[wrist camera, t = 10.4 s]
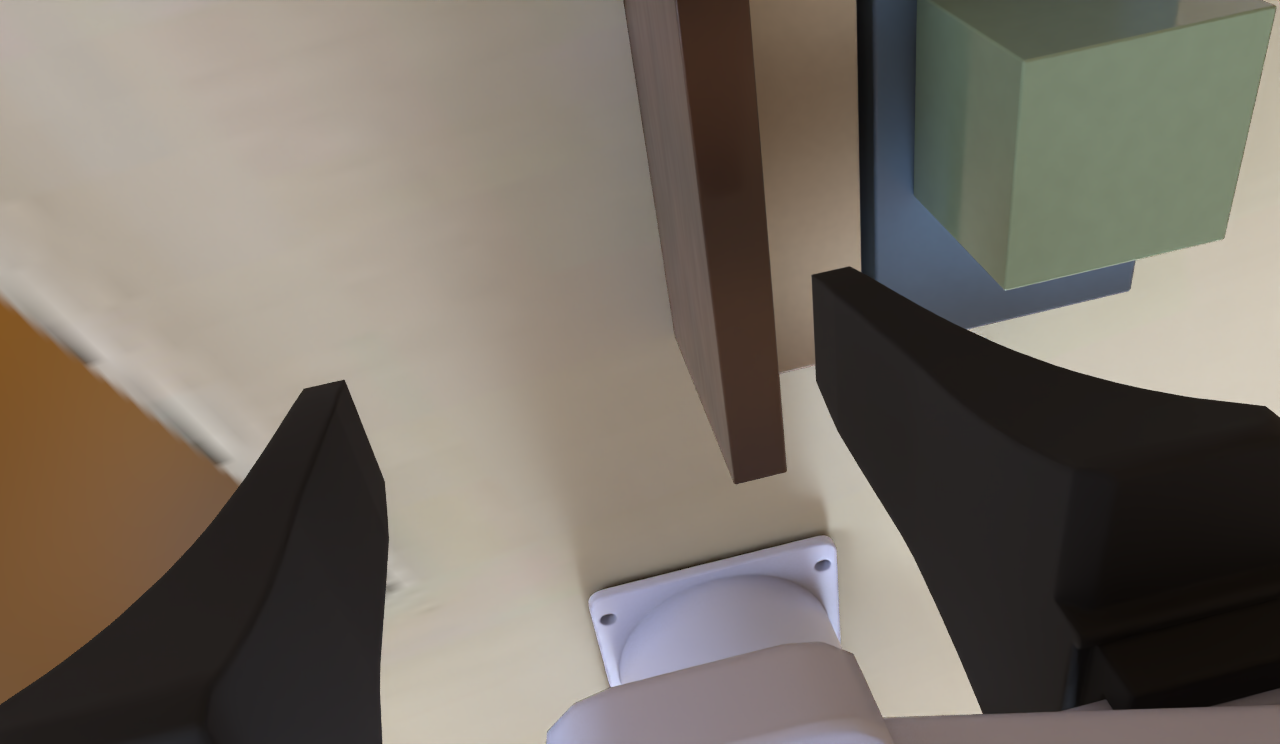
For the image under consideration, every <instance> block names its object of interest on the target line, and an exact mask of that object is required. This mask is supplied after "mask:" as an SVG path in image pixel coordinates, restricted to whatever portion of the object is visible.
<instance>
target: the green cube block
mask: <svg viewBox="0 0 1280 744" xmlns="http://www.w3.org/2000/svg"><path fill="white" fill-rule="evenodd" d="M1275 12H1276V6H1275V5H1273V4H1271V3H1268V2H1265V1H1263V0H917V25H916V84H915V143H914V197H915V198H916V199H917V200H918V201H919V202H920V203H921V204H922V205H923V206H924V207H925V208H926V209H927V210H928V211H929V212H930V213H931V214H932V215H933V216H934V217H935V219H936V220H937V221H938V222H939V223H940V224H941V225H942V226H943V227H944V228H945V229H946V230H947V231H948V232H949V233H950V234H951V235H952V236H953V237H954V238H955V239H956V240H957V241H958V243H959V244H960V245H961V246H962V247H963V248H964V249H965V250H966V251H967V252H968V253H969V254H970V255H971V256H972V257H973V258H974V259H975V260H976V261H977V262H978V263H979V264H980V266H981V267H982V268H983V269H984V270H985V271H986V272H987V273H988V274H989V275H990V276H991V277H992V278H993V279H994V280H995V281H996V282H997V283H998V284H999V285H1000V286H1001V287H1002V288H1003V290H1011V289H1015V288H1019V287H1023V286H1028V285H1032V284H1036V283H1040V282H1045V281H1049V280H1053V279H1058V278H1062V277H1066V276H1070V275H1075V274H1079V273H1083V272H1087V271H1092V270H1096V269H1100V268H1104V267H1109V266H1113V265H1117V264H1121V263H1126V262H1130V261H1134V260H1138V259H1143V258H1147V257H1151V256H1155V255H1160V254H1164V253H1168V252H1172V251H1177V250H1181V249H1185V248H1189V247H1194V246H1198V245H1202V244H1206V243H1211V242H1215V241H1219V240H1223V239H1224V237H1225V233H1226V229H1227V224H1228V220H1229V215H1230V211H1231V207H1232V202H1233V198H1234V193H1235V189H1236V184H1237V180H1238V176H1239V171H1240V167H1241V162H1242V158H1243V154H1244V149H1245V145H1246V140H1247V136H1248V131H1249V127H1250V123H1251V118H1252V114H1253V109H1254V105H1255V101H1256V96H1257V92H1258V87H1259V83H1260V78H1261V74H1262V70H1263V65H1264V61H1265V56H1266V52H1267V48H1268V43H1269V39H1270V34H1271V30H1272V25H1273V21H1274V17H1275Z"/></svg>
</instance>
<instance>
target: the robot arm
mask: <svg viewBox="0 0 1280 744" xmlns="http://www.w3.org/2000/svg"><path fill="white" fill-rule="evenodd" d="M811 277H812V299H813V322H814V344H815V366H816V382H817V384H818V386H819V389H820V391H821V394H822V396H823V398H824V401H825V403H826V406H827V408H828V410H829V413H830V415H831V417H832V419H833V421H834V424H835V426H836V428H837V430H838V432H839V434H840V436H841V438H842V439H843V441H844V443H845V444H846V446H847V448H848V449H849V451H850V453H851V454H852V456H853V457H854V459H855V461H856V462H857V464H858V466H859V467H860V469H861V471H862V472H863V474H864V475H865V477H866V479H867V480H868V482H869V483H870V485H871V487H872V488H873V490H874V492H875V493H876V495H877V496H878V498H879V500H880V501H881V503H882V504H883V506H884V508H885V509H886V511H887V512H888V514H889V516H890V517H891V519H892V521H893V522H894V524H895V525H896V527H897V529H898V530H899V532H900V533H901V535H902V537H903V539H904V541H905V542H906V544H907V546H908V548H909V550H910V551H911V553H912V555H913V557H914V559H915V561H916V563H917V565H918V567H919V569H920V572H921V574H922V576H923V578H924V580H925V582H926V584H927V586H928V589H929V591H930V593H931V595H932V597H933V599H934V601H935V604H936V606H937V608H938V610H939V612H940V615H941V617H942V619H943V621H944V624H945V626H946V628H947V630H948V633H949V635H950V637H951V639H952V642H953V644H954V646H955V648H956V651H957V653H958V655H959V658H960V660H961V662H962V665H963V667H964V669H965V672H966V674H967V677H968V679H969V681H970V684H971V686H972V689H973V691H974V693H975V696H976V698H977V701H978V703H979V705H980V708H981V710H982V713H983V714H972V715H941V716H910V717H882V715H881V713H880V710H879V708H878V706H877V704H876V702H875V700H874V697H873V695H872V693H871V691H870V689H869V686H868V684H867V682H866V680H865V678H864V675H863V673H862V671H861V669H860V667H859V665H858V663H857V661H856V659H855V657H854V654H852V653H850V652H847V651H845V650H843V649H842V647H841V637H840V614H839V591H838V567H837V549H836V546H835V544H834V542H833V540H832V539H831V538H830V537H829V536H825V535H821V536H815V537H811V538H807V539H803V540H799V541H795V542H791V543H787V544H783V545H779V546H775V547H771V548H767V549H763V550H759V551H755V552H751V553H747V554H743V555H739V556H735V557H731V558H727V559H723V560H719V561H715V562H711V563H707V564H703V565H699V566H694V567H690V568H686V569H682V570H678V571H674V572H670V573H666V574H662V575H658V576H654V577H650V578H646V579H642V580H638V581H634V582H630V583H626V584H622V585H618V586H614V587H610V588H606V589H602V590H599V591H597V592H595V593H594V594H593V595H591V597H590V598H589V603H588V604H589V610H590V614H591V618H592V621H593V625H594V629H595V633H596V636H597V640H598V644H599V647H600V651H601V655H602V659H603V662H604V666H605V670H606V674H607V677H608V681H609V685H610V688H608V689H605V690H603V691H601V692H598V693H596V694H594V695H592V696H589V697H587V698H585V699H582V700H580V701H578V702H576V703H574V704H573V705H572V706H571V707H570V708H569V709H568V710H567V711H566V712H565V713H564V714H563V715H562V716H561V718H560V719H559V720H558V721H557V722H556V723H555V724H554V725H553V726H552V727H551V728H550V729H549V730H548V731H547V740H546V744H1280V417H1278V416H1277V415H1276V414H1275V413H1274V412H1272V411H1271V410H1270V409H1268V408H1267V407H1266V406H1259V405H1250V404H1242V403H1233V402H1225V401H1216V400H1207V399H1199V398H1191V397H1185V396H1179V395H1174V394H1168V393H1163V392H1158V391H1152V390H1147V389H1142V388H1137V387H1133V386H1128V385H1124V384H1119V383H1115V382H1111V381H1108V380H1104V379H1100V378H1096V377H1093V376H1089V375H1085V374H1082V373H1078V372H1074V371H1071V370H1068V369H1065V368H1061V367H1058V366H1055V365H1052V364H1049V363H1047V362H1044V361H1041V360H1038V359H1036V358H1033V357H1030V356H1027V355H1024V354H1022V353H1019V352H1016V351H1014V350H1011V349H1009V348H1006V347H1004V346H1001V345H999V344H997V343H995V342H992V341H990V340H988V339H986V338H984V337H981V336H979V335H977V334H975V333H973V332H970V331H968V330H966V329H964V328H962V327H960V326H958V325H956V324H954V323H952V322H950V321H948V320H946V319H944V318H942V317H940V316H938V315H936V314H935V313H933V312H931V311H929V310H927V309H925V308H923V307H922V306H920V305H918V304H916V303H914V302H913V301H911V300H909V299H907V298H906V297H904V296H902V295H900V294H899V293H897V292H895V291H893V290H892V289H890V288H888V287H886V286H885V285H883V284H881V283H879V282H878V281H876V280H874V279H872V278H871V277H869V276H867V275H865V274H864V273H862V272H860V271H858V270H856V269H854V268H852V267H850V266H848V267H844V268H839V269H835V270H831V271H826V272H822V273H817V274H813V275H811ZM388 544H389V533H388V517H387V504H386V492H385V481H384V478H383V476H382V473H381V471H380V468H379V466H378V463H377V461H376V458H375V456H374V453H373V451H372V448H371V445H370V443H369V440H368V438H367V435H366V433H365V430H364V428H363V425H362V423H361V420H360V418H359V415H358V412H357V410H356V407H355V405H354V402H353V400H352V397H351V395H350V392H349V390H348V387H347V385H346V382H345V380H341V381H337V382H332V383H328V384H323V385H319V386H314V387H310V388H305V389H303V391H302V392H301V394H300V395H299V397H298V398H297V400H296V401H295V403H294V404H293V406H292V407H291V409H290V411H289V412H288V414H287V415H286V417H285V418H284V420H283V421H282V423H281V425H280V426H279V428H278V429H277V431H276V433H275V434H274V436H273V437H272V439H271V440H270V442H269V443H268V445H267V447H266V448H265V450H264V451H263V453H262V454H261V456H260V457H259V459H258V460H257V461H256V463H255V464H254V466H253V467H252V469H251V470H250V472H249V473H248V475H247V476H246V478H245V479H244V481H243V482H242V483H241V485H240V486H239V487H238V489H237V490H236V491H235V493H234V494H233V495H232V497H231V498H230V499H229V501H228V502H227V503H226V504H225V506H224V507H223V508H222V510H221V511H220V512H219V514H218V515H217V517H216V518H215V519H214V520H213V521H212V523H211V524H210V525H209V526H208V527H207V529H206V530H205V531H204V532H203V533H202V535H201V536H200V537H199V538H198V539H197V540H196V542H195V543H194V544H193V545H192V546H191V547H190V548H189V549H188V550H187V551H186V552H185V553H184V555H183V556H182V557H181V558H180V559H179V560H178V561H177V562H176V563H175V564H174V565H173V566H172V567H171V568H170V569H169V571H167V573H165V575H164V576H163V577H162V578H161V579H159V580H158V581H157V582H156V583H155V584H154V585H153V586H152V587H151V588H150V589H149V590H147V591H146V592H145V593H144V594H143V595H142V596H141V597H140V598H139V599H138V600H137V601H136V602H135V603H133V604H132V605H131V606H130V607H129V608H128V609H127V610H126V611H125V612H124V613H123V614H122V615H120V617H118V618H117V619H116V620H115V621H114V622H112V623H111V624H110V625H109V626H108V627H106V628H105V629H104V630H103V631H101V632H100V633H99V634H98V635H96V636H95V637H94V638H93V639H92V640H90V641H89V642H88V643H87V644H85V645H84V646H83V647H81V648H80V649H79V650H77V651H76V652H75V653H74V654H72V655H71V656H70V657H68V658H67V659H66V660H64V661H63V662H62V663H61V664H59V665H58V666H56V667H55V668H53V669H52V670H51V671H49V672H48V673H47V674H45V675H44V676H42V677H41V678H39V679H38V680H36V681H35V682H33V683H32V684H31V685H29V686H28V687H26V688H25V689H23V690H21V691H20V692H19V693H17V694H15V695H14V696H12V697H11V698H10V699H8V700H7V701H5V702H4V703H2V704H1V705H0V744H382V727H381V705H380V661H381V647H382V633H383V619H384V605H385V591H386V577H387V561H388ZM820 560H823V561H821V562H818V561H820ZM610 613H612V614H610ZM605 614H609V615H605ZM603 615H604V616H603Z"/></svg>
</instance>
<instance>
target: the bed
mask: <svg viewBox="0 0 1280 744" xmlns="http://www.w3.org/2000/svg"><path fill="white" fill-rule="evenodd" d="M623 1H624V7H625V14H626V20H627V27H628V33H629V40H630V46H631V53H632V59H633V66H634V72H635V79H636V86H637V92H638V99H639V105H640V112H641V118H642V125H643V131H644V138H645V144H646V151H647V157H648V164H649V170H650V177H651V184H652V190H653V197H654V203H655V210H656V216H657V223H658V229H659V236H660V242H661V249H662V255H663V262H664V268H665V275H666V282H667V288H668V295H669V301H670V308H671V314H672V321H673V327H674V334H675V338H676V341H677V343H678V346H679V348H680V350H681V353H682V355H683V358H684V360H685V363H686V365H687V368H688V370H689V373H690V375H691V378H692V380H693V383H694V385H695V388H696V390H697V393H698V395H699V398H700V400H701V403H702V405H703V408H704V410H705V413H706V415H707V417H708V420H709V422H710V425H711V427H712V430H713V432H714V435H715V437H716V440H717V442H718V445H719V447H720V450H721V452H722V455H723V457H724V460H725V462H726V465H727V467H728V470H729V472H730V475H731V477H732V479H733V482H734V483H735V484H739V483H743V482H747V481H752V480H756V479H760V478H764V477H768V476H772V475H776V474H780V473H784V472H786V471H787V465H786V453H785V441H784V428H783V416H782V403H781V391H780V378H779V374H781V373H785V372H789V371H794V370H798V369H802V368H806V367H811V366H815V344H814V322H813V299H812V277H811V275H813V274H817V273H822V272H826V271H831V270H835V269H839V268H844V267H848V266H850V267H852V268H854V269H856V270H858V271H860V272H862V273H864V274H865V275H867V276H869V277H871V278H872V279H874V280H876V281H878V282H879V283H881V284H883V285H885V286H886V287H888V288H890V289H892V290H893V291H895V292H897V293H899V294H900V295H902V296H904V297H906V298H907V299H909V300H911V301H913V302H914V303H916V304H918V305H920V306H922V307H923V308H925V309H927V310H929V311H931V312H933V313H935V314H936V315H938V316H940V317H942V318H944V319H946V320H948V321H950V322H952V323H954V324H956V325H958V326H960V327H962V328H964V329H966V330H967V329H971V328H975V327H979V326H984V325H988V324H992V323H996V322H1000V321H1005V320H1009V319H1013V318H1017V317H1021V316H1026V315H1030V314H1034V313H1038V312H1043V311H1047V310H1051V309H1055V308H1059V307H1064V306H1068V305H1072V304H1076V303H1081V302H1085V301H1089V300H1093V299H1097V298H1102V297H1106V296H1110V295H1114V294H1118V293H1123V292H1127V291H1129V290H1130V289H1131V284H1132V278H1133V272H1134V266H1135V260H1134V261H1130V262H1126V263H1121V264H1117V265H1113V266H1109V267H1104V268H1100V269H1096V270H1092V271H1087V272H1083V273H1079V274H1075V275H1070V276H1066V277H1062V278H1058V279H1053V280H1049V281H1045V282H1040V283H1036V284H1032V285H1028V286H1023V287H1019V288H1015V289H1011V290H1003V288H1002V287H1001V286H1000V285H999V284H998V283H997V282H996V281H995V280H994V279H993V278H992V277H991V276H990V275H989V274H988V273H987V272H986V271H985V270H984V269H983V268H982V267H981V266H980V264H979V263H978V262H977V261H976V260H975V259H974V258H973V257H972V256H971V255H970V254H969V253H968V252H967V251H966V250H965V249H964V248H963V247H962V246H961V245H960V244H959V243H958V241H957V240H956V239H955V238H954V237H953V236H952V235H951V234H950V233H949V232H948V231H947V230H946V229H945V228H944V227H943V226H942V225H941V224H940V223H939V222H938V221H937V220H936V219H935V217H934V216H933V215H932V214H931V213H930V212H929V211H928V210H927V209H926V208H925V207H924V206H923V205H922V204H921V203H920V202H919V201H918V200H917V199H916V198H915V197H914V143H915V84H916V25H917V0H623Z"/></svg>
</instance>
